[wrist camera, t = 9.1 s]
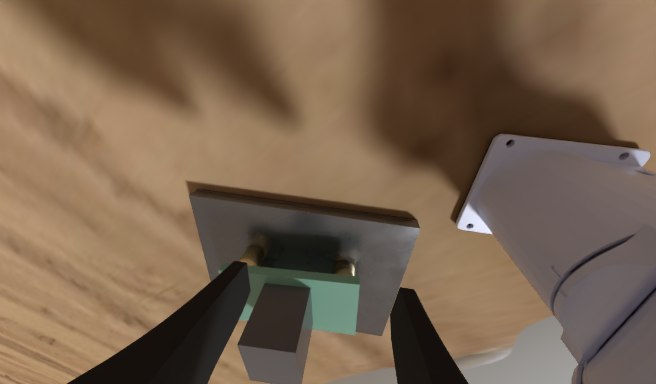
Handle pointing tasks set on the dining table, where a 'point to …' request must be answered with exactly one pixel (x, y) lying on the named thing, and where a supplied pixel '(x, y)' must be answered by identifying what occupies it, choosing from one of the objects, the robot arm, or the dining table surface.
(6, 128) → the dining table surface
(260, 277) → the board
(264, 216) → the plate
